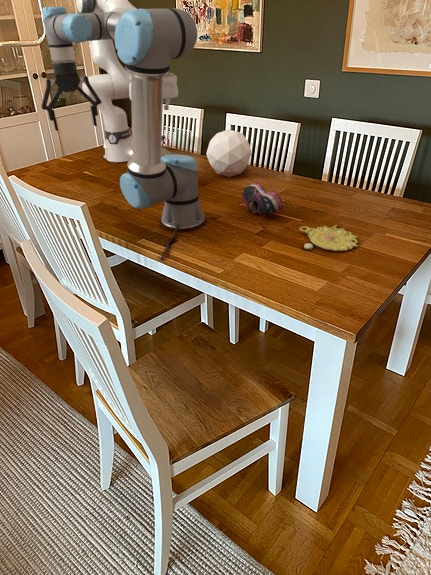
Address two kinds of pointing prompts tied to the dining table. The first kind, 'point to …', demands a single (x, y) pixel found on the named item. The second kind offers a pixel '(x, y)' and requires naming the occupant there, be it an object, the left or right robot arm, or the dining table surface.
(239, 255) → the dining table surface
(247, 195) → the athletic shoe
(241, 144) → the sphere
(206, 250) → the dining table surface
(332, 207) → the dining table surface
